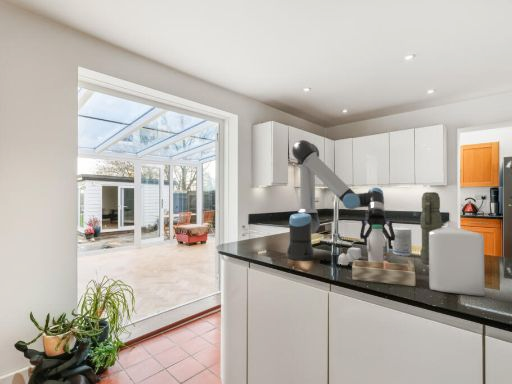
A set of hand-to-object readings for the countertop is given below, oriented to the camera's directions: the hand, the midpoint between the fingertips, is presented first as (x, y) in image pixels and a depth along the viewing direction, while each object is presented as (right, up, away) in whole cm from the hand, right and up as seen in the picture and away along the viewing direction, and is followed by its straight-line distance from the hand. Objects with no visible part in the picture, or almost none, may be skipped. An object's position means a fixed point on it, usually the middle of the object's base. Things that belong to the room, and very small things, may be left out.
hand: (377, 251), depth 121 cm
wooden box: (-3, -8, -11) cm, 14 cm away
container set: (-7, -9, +18) cm, 21 cm away
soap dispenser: (+17, -8, -23) cm, 29 cm away
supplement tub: (+29, -9, +33) cm, 45 cm away
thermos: (+32, -9, +13) cm, 36 cm away
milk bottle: (+1, -9, +3) cm, 9 cm away
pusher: (-2, -7, -11) cm, 14 cm away
